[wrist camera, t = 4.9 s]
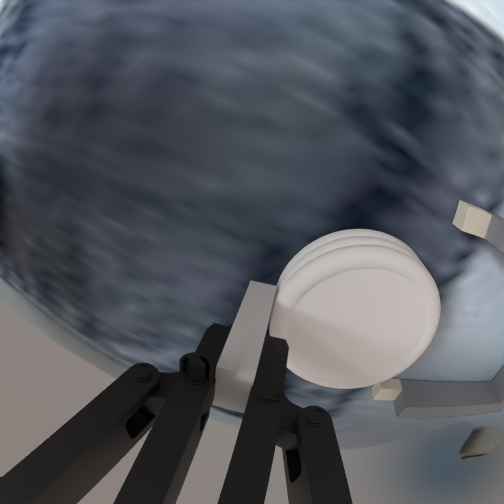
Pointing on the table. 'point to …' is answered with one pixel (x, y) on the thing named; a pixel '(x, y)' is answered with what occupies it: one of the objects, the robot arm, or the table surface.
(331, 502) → the robot arm
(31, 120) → the table surface
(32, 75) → the table surface
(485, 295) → the table surface
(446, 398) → the grey u-shaped frame
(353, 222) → the table surface
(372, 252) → the white round disc
